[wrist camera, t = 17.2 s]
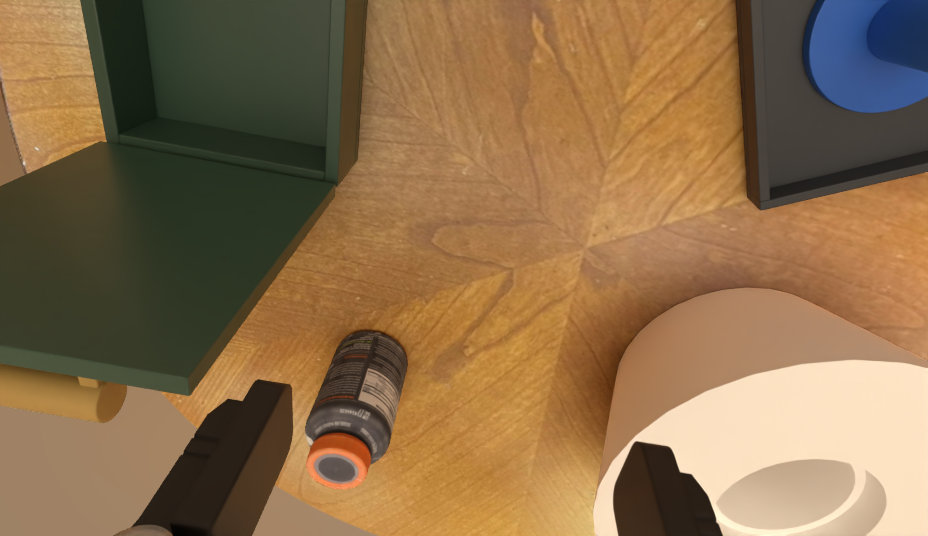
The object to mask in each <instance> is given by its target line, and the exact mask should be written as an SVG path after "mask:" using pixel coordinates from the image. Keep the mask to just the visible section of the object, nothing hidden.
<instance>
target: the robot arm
mask: <svg viewBox="0 0 928 536" xmlns="http://www.w3.org/2000/svg"><path fill="white" fill-rule="evenodd" d="M292 435H293V412H292V388H291V385H289V384H283V383H277V382H271V381H264V380H256V381H255V382H254V383H253V385H252V386H251V388H250V390H249V391H248V393H247V395H246V396H245V398H244V400H243V401H238V400H232V399H227V400H226V401H225V402H223V403H222V404H221V405H219V406H218V407H217V408H216V409H214V410H213V411H212V412H210V413H209V414H208V415H207V416H206V418H205V419H204V421H203V422H202V424H201V425H200V427H199V428H198V430H197V431H196V433H195V436H194V438H192V439H191V441H190V442H189V444H188V445H187V447H186V448H185V450H184V453H183V455H181V456H180V457H179V459H178V460H177V462H176V463H175V465H174V466H173V468H172V469H171V471H170V473H169V474H168V475H167V477H166V478H165V480H164V481H163V483H162V485H161V486H160V488H159V489H158V491H157V492H156V494H155V495H154V497H153V498H152V500H151V501H150V503H149V504H148V506H147V507H146V509H145V510H144V512H143V513H142V515H141V516H140V518H139V519H138V520H137V521H136V523H135V524H134V525H133V526H132V527H131V528H128V529H126V530H123V531H121V532H119V533H118V534H116V535H114V536H252V534H253V532H254V530H255V527H256V525H257V523H258V521H259V519H260V516H261V514H262V511H263V510H264V507H265V505H266V503H267V500H268V498H269V496H270V494H271V492H272V489H273V487H274V485H275V483H276V480H277V478H278V476H279V474H280V471H281V469H282V467H283V465H284V462H285V460H286V458H287V455H288V452H289V449H290V446H291V441H292ZM613 510H614V516H615V521H616V526H617V532H618V536H723V534H722V532H721V529H720V526H719V524H718V523H717V522H716V519H717V518H716V516H715V513H714V510H713V508H712V505H711V502H710V500H709V497H708V495H707V494H706V492H705V491H704V490H703V488H702V487H701V486H700V484H699V483H698V482H697V480H696V479H695V478H694V477H693V475H692V474H688V473H682V472H680V471H679V468H678V465H677V462H676V459H675V456H674V453H673V451H672V449H671V448H670V447H669V446H664V445H657V444H651V443H645V442H639V441H636V442H634V443H633V445H632V447H631V449H630V451H629V453H628V456H627V458H626V460H625V462H624V465H623V467H622V469H621V471H620V473H619V476H618V478H617V480H616V483H615V486H614V491H613Z"/></svg>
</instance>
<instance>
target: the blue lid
mask: <svg viewBox="0 0 928 536" xmlns="http://www.w3.org/2000/svg"><path fill="white" fill-rule="evenodd" d="M803 61H804V66H805V70H806V73H807V76H808V78H809V81H810V82H811V84H812V85H813V87H814V88H815V90H816V91H817V92H818V93H819V94H820V95H821V96H822V97H824V98H825V99H826V100H828V101H829V102H831V103H833V104H835V105H837V106H839V107H842V108H845V109H848V110H851V111H855V112H861V113H878V112H886V111H891V110H896V109H899V108H902V107H905V106H908V105H911V104H913V103H915V102H918V101H920V100H922V99H924V98H925V97H927V96H928V0H817V2H816V4H815V6H814V8H813V10H812V12H811V15H810V17H809V20H808V23H807V26H806V30H805V35H804V40H803Z"/></svg>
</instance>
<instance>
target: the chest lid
mask: <svg viewBox="0 0 928 536" xmlns="http://www.w3.org/2000/svg"><path fill="white" fill-rule="evenodd" d="M334 197H335V184H332V183H327V182H321V181H316V180H310V179H305V178H299V177H294V176H288V175H283V174H277V173H272V172H266V171H261V170H255V169H250V168H244V167H239V166H233V165H228V164H222V163H217V162H211V161H206V160H201V159H195V158H190V157H184V156H179V155H173V154H168V153H162V152H157V151H151V150H146V149H140V148H135V147H129V146H124V145H118V144H113V143H107V142H102V141H100V142H97V143H95V144H93V145H91V146H89V147H86V148H84V149H82V150H80V151H78V152H75V153H73V154H71V155H69V156H66V157H64V158H62V159H60V160H58V161H55V162H53V163H51V164H49V165H46V166H44V167H42V168H40V169H38V170H35V171H33V172H31V173H29V174H26V175H24V176H22V177H20V178H18V179H16V180H13V181H11V182H9V183H7V184H4V185H2V186H0V406H6V407H12V408H17V409H23V410H29V411H35V412H41V413H47V414H52V415H59V416H64V417H70V418H76V419H82V420H88V421H93V422H99V423H105V422H108V421H110V420H111V419H113V418H114V416H115V415H116V414H117V413H118V412H119V410H120V409H121V407H122V405H123V402H124V400H125V397H126V392H127V385H128V386H134V387H140V388H146V389H152V390H158V391H163V392H169V393H175V394H181V395H186V396H190V395H191V394H192V392H193V391H194V389H195V388H196V387H197V385H198V384H199V383H200V381H201V380H202V378H203V377H204V376H205V374H206V373H207V372H208V370H209V369H210V367H211V366H212V365H213V363H214V362H215V361H216V359H217V358H218V356H219V355H220V354H221V352H222V351H223V350H224V348H225V347H226V345H227V344H228V343H229V341H230V340H231V339H232V337H233V336H234V334H235V333H236V332H237V330H238V329H239V328H240V326H241V325H242V323H243V322H244V321H245V319H246V318H247V317H248V315H249V314H250V312H251V311H252V310H253V308H254V307H255V306H256V304H257V303H258V301H259V300H260V299H261V297H262V296H263V295H264V293H265V292H266V290H267V289H268V288H269V286H270V285H271V284H272V282H273V281H274V279H275V278H276V277H277V275H278V274H279V272H280V271H281V270H282V268H283V267H284V266H285V264H286V263H287V261H288V260H289V259H290V257H291V256H292V255H293V253H294V252H295V250H296V249H297V248H298V246H299V245H300V244H301V242H302V241H303V239H304V238H305V237H306V235H307V234H308V233H309V231H310V230H311V228H312V227H313V226H314V224H315V223H316V222H317V220H318V219H319V217H320V216H321V215H322V213H323V212H324V211H325V209H326V208H327V206H328V205H329V204H330V202H331V201H332V200H333V198H334Z"/></svg>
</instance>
